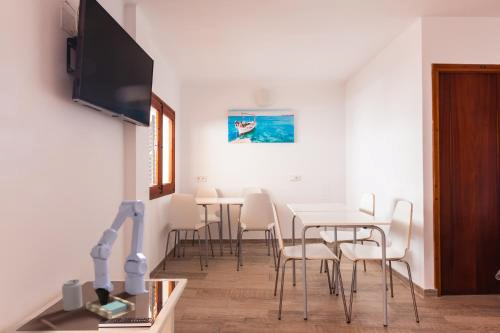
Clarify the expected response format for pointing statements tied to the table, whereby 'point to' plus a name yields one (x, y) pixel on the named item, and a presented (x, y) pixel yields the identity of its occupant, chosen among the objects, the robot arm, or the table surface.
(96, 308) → the tray
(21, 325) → the table surface
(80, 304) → the can
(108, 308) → the pale teal square slab
